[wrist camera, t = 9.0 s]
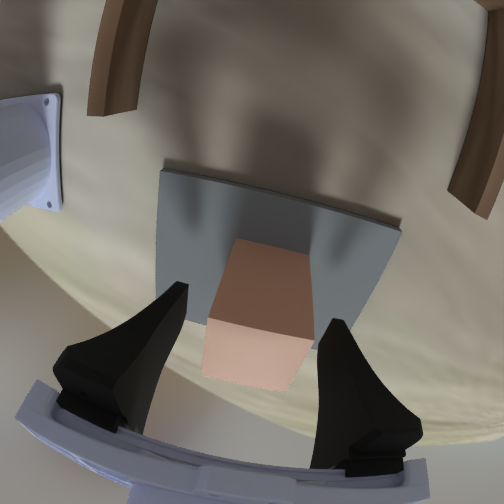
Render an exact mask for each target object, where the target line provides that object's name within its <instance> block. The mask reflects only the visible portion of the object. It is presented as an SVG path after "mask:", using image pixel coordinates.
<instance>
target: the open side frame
mask: <svg viewBox="0 0 504 504" xmlns="http://www.w3.org/2000/svg"><path fill="white" fill-rule="evenodd" d="M474 1H476V2H477V3H478V4H480V5H481V6H483V7H484V8H485V9H487V10H488V11H489V19H488V32H487V42H486V50H485V57H484V64H483V70H482V75H481V81H480V86H479V90H478V95H477V99H476V103H475V108H474V112H473V115H472V119H471V123H470V126H469V130H468V133H467V137H466V140H465V143H464V146H463V149H462V152H461V155H460V158H459V161H458V164H457V167H456V170H455V172H454V175H453V178H452V180H451V183H450V186H449V188H448V192H449V193H451V194H452V195H453V196H454V197H456V198H457V199H458V200H459V201H461V202H462V203H463V204H464V205H465V206H467V207H468V208H469V209H470V210H471V211H472V212H474V213H475V214H477V215H479V216H481V217H483V218H484V219H486V220H487V219H488V217H489V215H490V212H491V210H492V208H493V205H494V203H495V201H496V198H497V196H498V193H499V191H500V188H501V185H502V183H503V180H504V0H474ZM156 4H157V0H106V3H105V7H104V11H103V15H102V19H101V23H100V27H99V32H98V37H97V42H96V47H95V52H94V58H93V64H92V71H91V78H90V87H89V96H88V107H87V116H103V117H104V116H108V115H113V114H117V113H122V112H127V111H132V110H136V108H137V100H138V93H139V86H140V79H141V73H142V67H143V62H144V56H145V51H146V46H147V41H148V37H149V32H150V28H151V24H152V19H153V15H154V12H155V8H156Z"/></svg>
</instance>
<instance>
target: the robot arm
mask: <svg viewBox="0 0 504 504" xmlns="http://www.w3.org/2000/svg"><path fill="white" fill-rule="evenodd" d="M48 99H49V103H48ZM60 103H61V97H60V95H59V94H58V93H48V94H38V95H30V96H22V97H15V98H9V99H3V100H0V222H1V221H3V220H4V219H6V218H7V217H8V216H10V215H11V214H13V213H14V212H16V211H17V210H19V209H20V208H22V207H23V206H25V205H30V206H34V207H37V208H41V209H45V210H49V211H53V212H58V211H59V210H61V208H62V199H61V186H60V168H59V121H60ZM188 289H189V284H186V283H183V282H179V281H176V282H175V283H173V284H172V285H171V286H170V287H169V288H168V289H167V290H166V291H165V292H164V293H163V294H162V295H161V296H159V297H158V298H157V299H156V300H155V301H153V302H152V303H151V304H150V305H149V306H147V307H146V308H145V309H143V310H142V311H141V312H139V313H138V314H137V315H135V316H134V317H132V318H131V319H129V320H128V321H126V322H124V323H123V324H121V325H119V326H117V327H115V328H114V329H112V330H110V331H108V332H106V333H104V334H101V335H99V336H97V337H94V338H92V339H89V340H87V341H84V342H80V343H77V344H74V345H70V346H67V348H66V349H65V350H64V351H63V352H62V354H61V355H60V357H59V358H58V360H57V361H56V363H55V364H54V366H53V372H54V375H55V376H56V378H57V380H58V382H59V383H60V385H61V386H62V388H63V390H62V391H61V393H59V392H57V391H56V390H55V389H53V388H52V387H50V386H48V385H47V384H45V383H43V382H41V381H40V380H36V381H35V383H34V385H33V386H32V388H31V390H30V391H29V393H28V395H27V396H26V398H25V400H24V402H23V403H22V405H21V407H20V409H19V410H18V412H17V414H16V416H15V419H16V420H17V421H18V422H19V423H20V424H21V425H22V426H23V427H25V428H26V429H27V430H28V431H29V432H30V433H31V434H32V435H34V436H35V437H36V438H37V439H39V440H40V441H42V442H43V443H45V444H46V445H48V446H50V447H51V448H53V449H54V450H56V451H58V452H60V453H61V454H63V455H64V456H66V457H68V458H70V459H71V460H73V461H75V462H77V463H79V464H80V465H82V466H84V467H86V468H88V469H90V470H92V471H94V472H96V473H98V474H100V475H102V476H104V477H106V478H108V479H111V480H112V481H115V482H117V483H119V484H122V485H124V486H126V487H129V488H131V492H130V495H129V498H128V501H127V504H417V503H419V502H422V501H425V500H428V499H429V498H430V492H429V482H428V473H427V466H426V459H425V458H422V459H415V460H409V461H405V462H403V457H405V456H406V452H405V450H406V449H407V448H409V447H410V446H412V445H413V444H415V443H416V442H418V441H419V440H420V439H421V438H422V436H423V430H422V425H421V420H420V418H418V417H417V416H416V415H414V414H413V413H412V412H411V411H409V410H408V409H407V408H406V407H405V406H404V405H403V404H402V403H400V402H399V401H398V400H397V399H396V398H395V397H394V396H393V395H392V393H391V392H390V391H389V390H388V389H387V388H386V387H385V385H384V384H383V383H382V382H381V380H380V379H379V378H378V377H377V375H376V374H375V373H374V371H373V370H372V368H371V367H370V365H369V364H368V362H367V360H366V359H365V357H364V356H363V354H362V352H361V350H360V349H359V347H358V345H357V343H356V342H355V340H354V338H353V336H352V334H351V332H350V330H349V328H348V327H347V325H346V323H345V321H344V320H342V319H337V318H332V320H331V322H330V324H329V325H328V327H327V329H326V331H325V333H324V335H323V336H322V338H321V340H320V342H319V343H318V354H317V371H318V389H319V411H318V422H317V431H316V438H315V444H314V450H313V455H312V460H311V465H310V469H304V468H291V467H280V466H271V465H263V464H256V463H249V462H243V461H238V460H232V459H227V458H222V457H217V456H213V455H208V454H204V453H200V452H196V451H192V450H188V449H185V448H181V447H177V446H174V445H171V444H168V443H164V442H161V441H158V440H155V439H152V438H149V437H146V436H144V435H143V430H144V427H145V423H146V419H147V415H148V412H149V408H150V405H151V401H152V398H153V395H154V392H155V389H156V386H157V383H158V380H159V377H160V374H161V371H162V369H163V366H164V364H165V362H166V360H167V358H168V356H169V354H170V352H171V350H172V348H173V346H174V344H175V341H176V339H177V337H178V335H179V333H180V331H181V328H182V326H183V323H184V320H185V317H186V314H187V301H188Z"/></svg>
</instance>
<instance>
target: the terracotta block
mask: <svg viewBox="0 0 504 504" xmlns="http://www.w3.org/2000/svg"><path fill="white" fill-rule="evenodd" d="M314 341H315V333H314V314H313V297H312V282H311V269H310V257H309V255H307V254H303V253H298V252H294V251H290V250H286V249H282V248H278V247H273V246H269V245H265V244H261V243H256V242H252V241H248V240H244V239H239V238H236V239H235V242H234V245H233V247H232V250H231V253H230V256H229V258H228V261H227V264H226V267H225V270H224V272H223V275H222V278H221V281H220V284H219V287H218V289H217V292H216V295H215V298H214V301H213V304H212V307H211V309H210V312H209V315H208V319H207V327H206V335H205V343H204V351H203V359H202V368H201V375H203V376H207V377H211V378H215V379H219V380H223V381H227V382H232V383H236V384H241V385H246V386H251V387H256V388H261V389H266V390H272V391H278V392H284V393H285V392H286V390H287V389H288V387H289V385H290V384H291V382H292V380H293V378H294V377H295V375H296V373H297V372H298V370H299V368H300V366H301V365H302V363H303V361H304V359H305V358H306V356H307V354H308V352H309V350H310V349H311V347H312V345H313V343H314Z"/></svg>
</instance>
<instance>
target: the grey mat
mask: <svg viewBox="0 0 504 504" xmlns="http://www.w3.org/2000/svg"><path fill="white" fill-rule="evenodd" d="M401 234H402V231H401V230H400V228H398V227H395V226H392V225H389V224H386V223H383V222H379V221H376V220H373V219H370V218H367V217H363V216H360V215H357V214H353V213H350V212H347V211H343V210H340V209H336V208H333V207H329V206H326V205H322V204H319V203H315V202H311V201H308V200H304V199H300V198H296V197H292V196H289V195H285V194H281V193H277V192H273V191H269V190H264V189H260V188H256V187H252V186H247V185H243V184H239V183H234V182H230V181H225V180H220V179H216V178H211V177H206V176H201V175H196V174H191V173H186V172H181V171H176V170H170V169H165V168H164V169H162V170H161V171H160V179H159V192H158V208H157V230H156V299H157V298H158V297H159V296H161V295H162V294H163V293H164V292H165V291H166V290H167V289H168V288H169V287H170V286H171V285H172V284H173V283H175V282H176V281H179V282H183V283H186V284H189V289H188V301H187V314H186V317H185V320H188V321H192V322H196V323H199V324H203V325H207V319H208V315H209V312H210V309H211V307H212V304H213V301H214V298H215V295H216V292H217V289H218V287H219V284H220V281H221V278H222V275H223V272H224V270H225V267H226V264H227V261H228V258H229V256H230V253H231V250H232V247H233V245H234V242H235V239H236V238H239V239H244V240H248V241H252V242H256V243H261V244H265V245H269V246H273V247H278V248H282V249H286V250H290V251H294V252H298V253H303V254H307V255H309V257H310V269H311V282H312V297H313V314H314V333H315V341H314V343H313V345H312V347H311V349H316V350H318V343H319V342H320V340H321V338H322V336H323V335H324V333H325V331H326V329H327V327H328V325H329V324H330V322H331V320H332V318H337V319H342V320H344V321H345V323H346V325H347V327H348V328H349V330H350V329H351V328H352V326H353V324H354V323H355V321H356V319H357V318H358V316H359V314H360V313H361V311H362V309H363V307H364V306H365V304H366V302H367V300H368V299H369V297H370V295H371V293H372V291H373V290H374V288H375V286H376V284H377V282H378V280H379V278H380V277H381V275H382V273H383V271H384V269H385V267H386V265H387V263H388V261H389V259H390V257H391V255H392V253H393V251H394V249H395V247H396V245H397V243H398V240H399V238H400V236H401Z"/></svg>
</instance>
